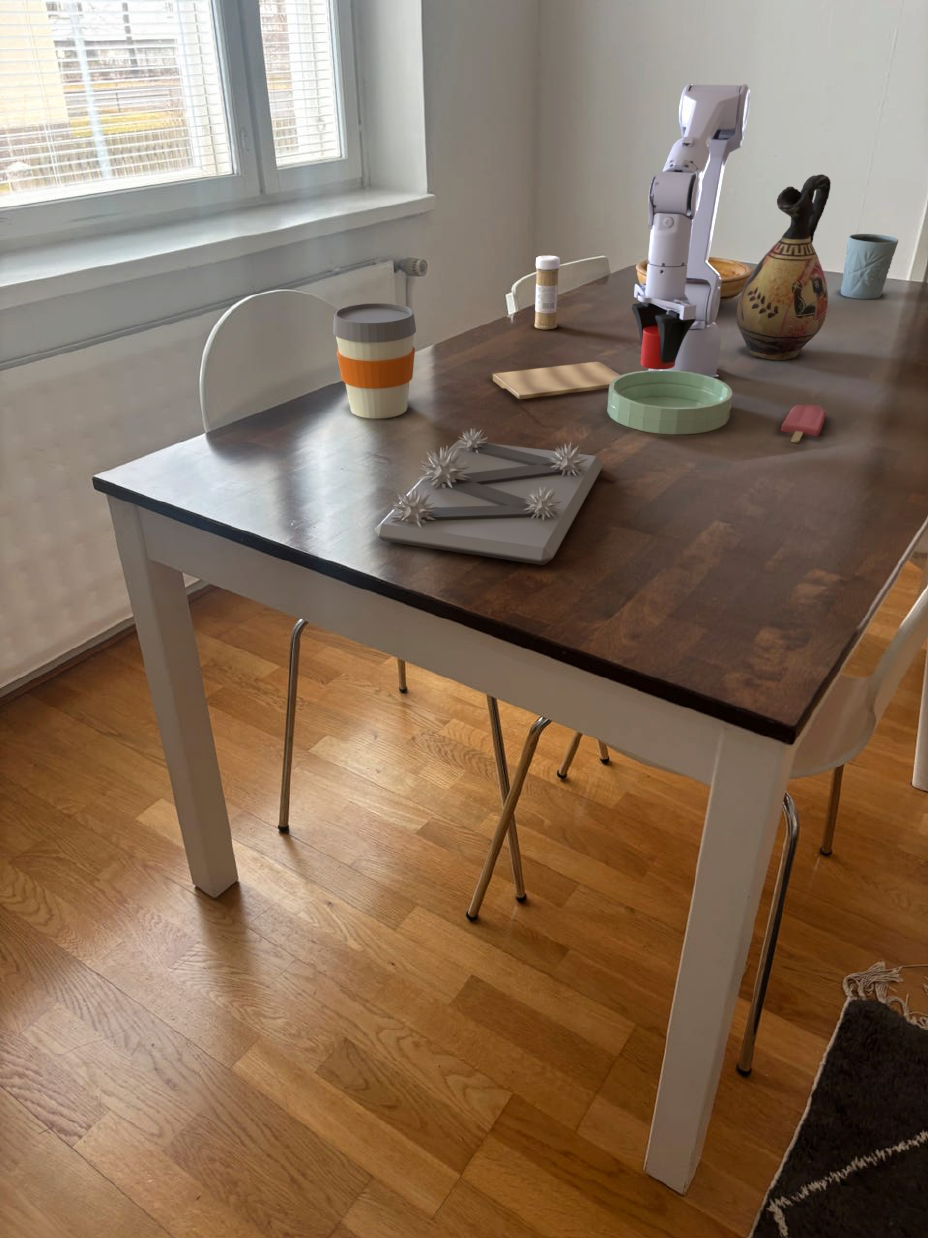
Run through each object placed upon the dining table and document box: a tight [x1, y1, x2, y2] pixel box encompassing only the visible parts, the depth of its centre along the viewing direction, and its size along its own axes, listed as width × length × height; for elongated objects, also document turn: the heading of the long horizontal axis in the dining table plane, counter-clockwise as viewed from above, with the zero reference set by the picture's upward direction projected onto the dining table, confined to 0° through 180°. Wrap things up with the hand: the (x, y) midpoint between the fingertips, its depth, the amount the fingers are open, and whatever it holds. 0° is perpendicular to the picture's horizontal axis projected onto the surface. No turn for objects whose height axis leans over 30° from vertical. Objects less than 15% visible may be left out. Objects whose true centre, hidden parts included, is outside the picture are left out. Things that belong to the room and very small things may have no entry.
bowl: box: [606, 369, 734, 436], centre depth 146 cm, size 18×18×4 cm
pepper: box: [639, 326, 675, 370], centre depth 144 cm, size 5×5×7 cm
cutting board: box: [492, 361, 622, 400], centre depth 161 cm, size 20×12×1 cm, turn 109°
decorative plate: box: [373, 428, 604, 566], centre depth 119 cm, size 30×22×7 cm
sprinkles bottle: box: [534, 255, 561, 331], centre depth 188 cm, size 5×5×13 cm
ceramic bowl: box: [635, 256, 754, 304], centre depth 204 cm, size 30×24×8 cm
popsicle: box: [780, 404, 827, 444], centre depth 142 cm, size 5×2×15 cm
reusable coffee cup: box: [332, 302, 417, 420], centre depth 147 cm, size 13×13×15 cm
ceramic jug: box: [736, 173, 832, 361], centre depth 168 cm, size 17×15×30 cm
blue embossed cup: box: [840, 233, 899, 300], centre depth 210 cm, size 10×10×12 cm
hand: (658, 356), depth 145 cm, fingers closed on pepper, 5 cm apart
